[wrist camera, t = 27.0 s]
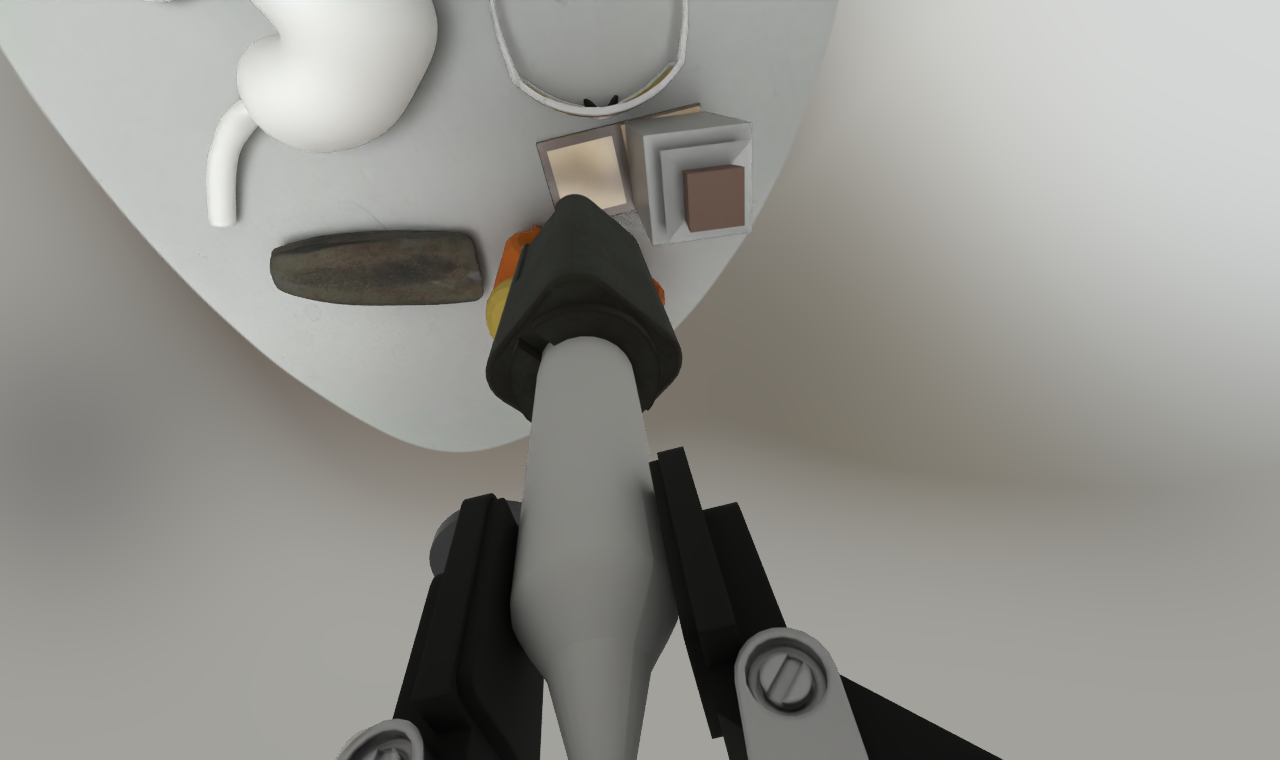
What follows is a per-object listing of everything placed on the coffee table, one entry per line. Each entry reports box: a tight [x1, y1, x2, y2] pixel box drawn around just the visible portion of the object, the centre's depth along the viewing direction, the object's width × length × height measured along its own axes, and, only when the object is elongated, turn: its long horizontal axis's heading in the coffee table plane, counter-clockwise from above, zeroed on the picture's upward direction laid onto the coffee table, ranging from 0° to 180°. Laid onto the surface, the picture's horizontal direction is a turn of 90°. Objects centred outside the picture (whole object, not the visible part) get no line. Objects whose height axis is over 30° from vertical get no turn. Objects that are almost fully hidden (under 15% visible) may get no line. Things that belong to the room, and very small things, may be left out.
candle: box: [486, 194, 682, 760], centre depth 17 cm, size 5×5×25 cm
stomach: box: [145, 0, 438, 227], centre depth 37 cm, size 23×13×24 cm
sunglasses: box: [490, 0, 688, 120], centre depth 39 cm, size 14×15×5 cm
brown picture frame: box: [536, 103, 701, 216], centre depth 46 cm, size 7×14×1 cm, turn 102°
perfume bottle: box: [624, 112, 752, 246], centre depth 38 cm, size 7×7×18 cm
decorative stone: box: [270, 231, 484, 306], centre depth 46 cm, size 17×6×4 cm, turn 88°
